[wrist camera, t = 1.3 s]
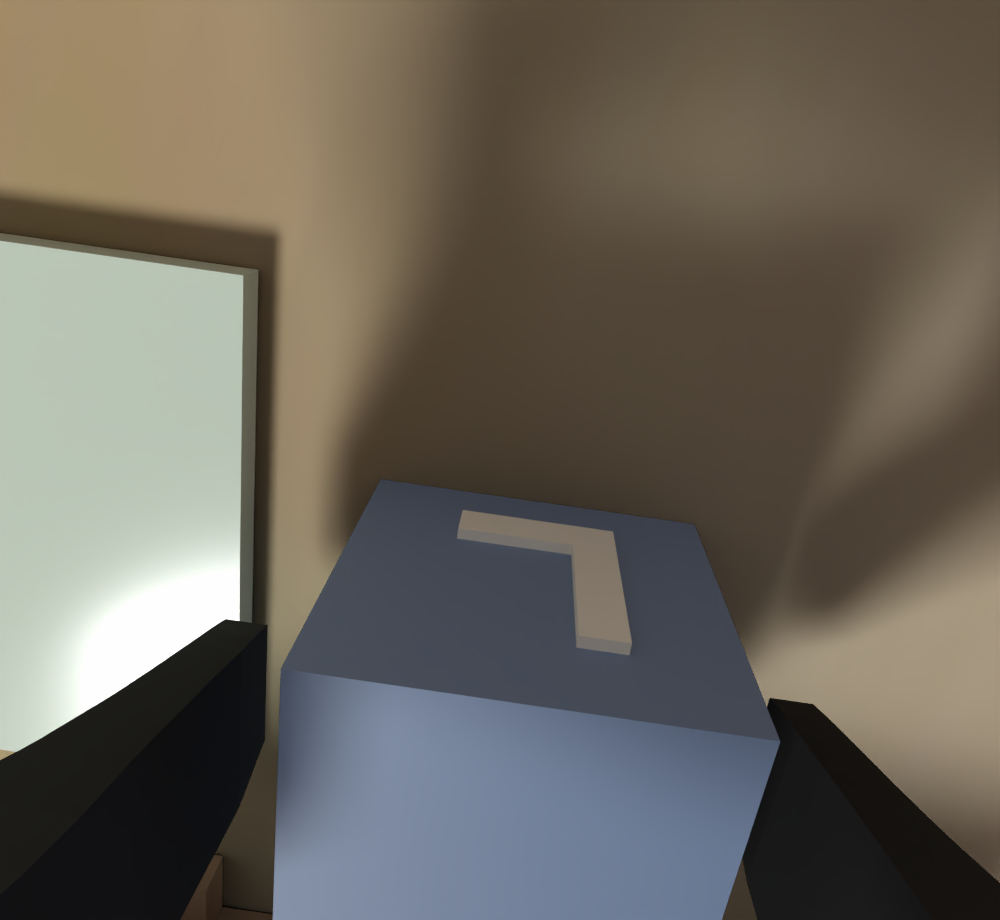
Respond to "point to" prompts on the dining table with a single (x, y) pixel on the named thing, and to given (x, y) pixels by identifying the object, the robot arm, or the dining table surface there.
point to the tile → (118, 469)
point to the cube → (516, 720)
